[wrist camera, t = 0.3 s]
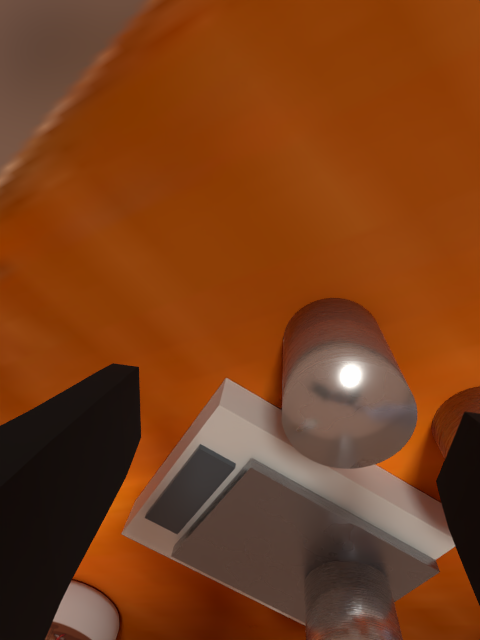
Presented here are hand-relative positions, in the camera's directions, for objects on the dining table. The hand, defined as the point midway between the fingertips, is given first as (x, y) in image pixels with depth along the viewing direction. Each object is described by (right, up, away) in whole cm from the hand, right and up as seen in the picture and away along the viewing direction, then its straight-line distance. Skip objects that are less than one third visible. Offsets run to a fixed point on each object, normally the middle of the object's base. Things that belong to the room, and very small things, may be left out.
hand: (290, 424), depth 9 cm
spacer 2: (+4, -12, +12) cm, 17 cm away
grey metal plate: (+2, -10, +12) cm, 15 cm away
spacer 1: (+3, +1, +9) cm, 10 cm away
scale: (+1, -8, +14) cm, 16 cm away
